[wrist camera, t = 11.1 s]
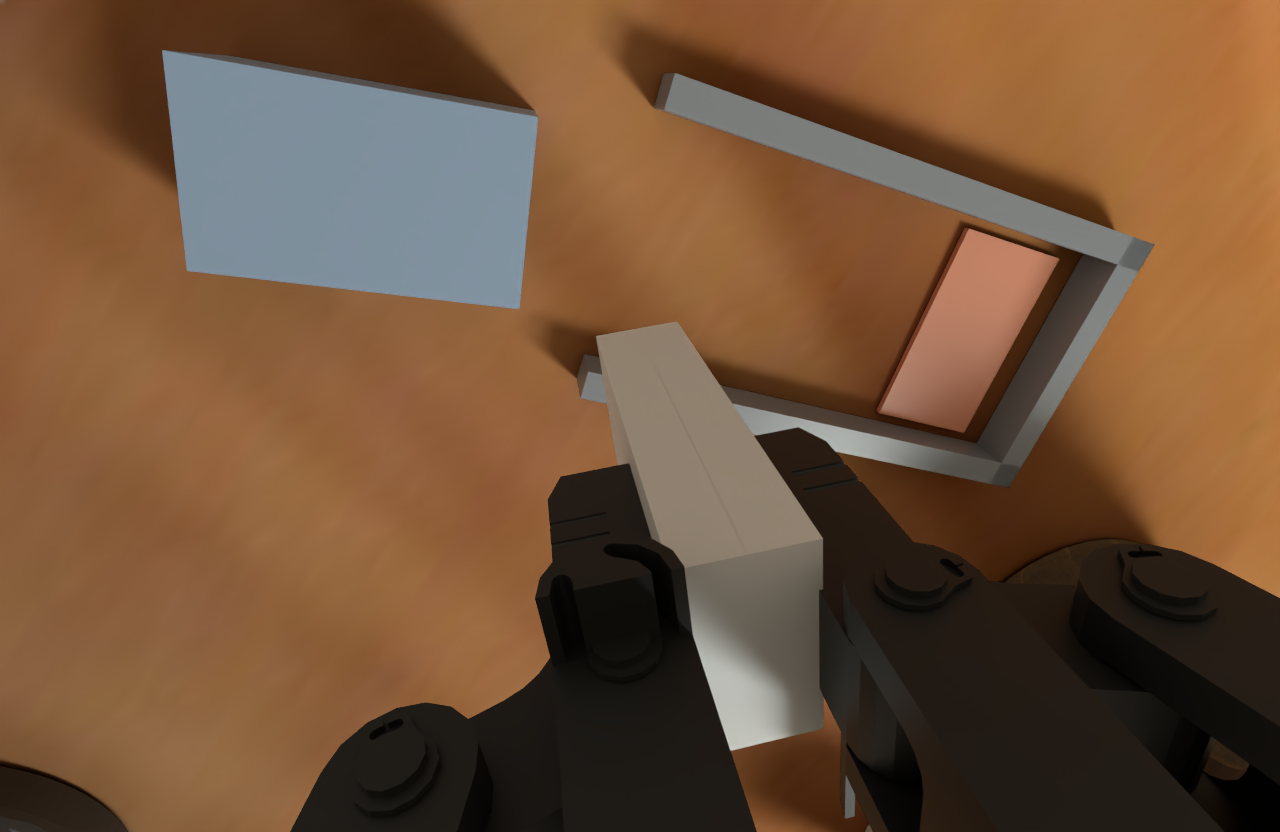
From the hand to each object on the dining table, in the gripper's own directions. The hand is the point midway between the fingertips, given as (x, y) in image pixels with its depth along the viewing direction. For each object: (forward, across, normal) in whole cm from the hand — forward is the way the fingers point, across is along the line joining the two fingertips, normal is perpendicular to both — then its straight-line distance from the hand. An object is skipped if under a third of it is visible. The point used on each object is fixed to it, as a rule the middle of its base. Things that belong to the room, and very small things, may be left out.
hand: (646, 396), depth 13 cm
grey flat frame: (+16, +12, -5) cm, 20 cm away
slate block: (+16, -6, +3) cm, 18 cm away
